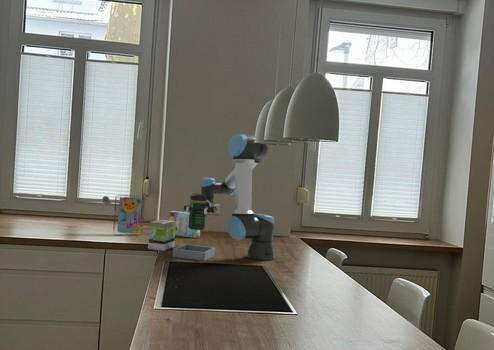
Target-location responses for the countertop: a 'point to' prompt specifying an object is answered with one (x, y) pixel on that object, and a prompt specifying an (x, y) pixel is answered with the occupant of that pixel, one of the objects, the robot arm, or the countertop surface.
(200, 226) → the coffee jar
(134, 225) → the box
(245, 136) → the robot arm
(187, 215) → the snack box
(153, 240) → the tea box
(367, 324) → the countertop surface
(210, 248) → the tray
